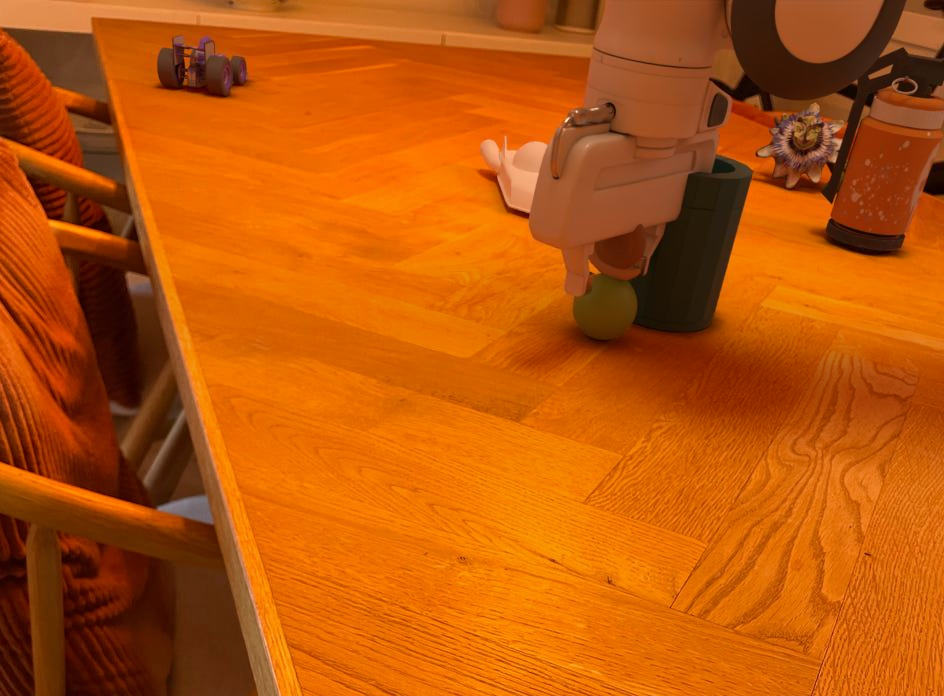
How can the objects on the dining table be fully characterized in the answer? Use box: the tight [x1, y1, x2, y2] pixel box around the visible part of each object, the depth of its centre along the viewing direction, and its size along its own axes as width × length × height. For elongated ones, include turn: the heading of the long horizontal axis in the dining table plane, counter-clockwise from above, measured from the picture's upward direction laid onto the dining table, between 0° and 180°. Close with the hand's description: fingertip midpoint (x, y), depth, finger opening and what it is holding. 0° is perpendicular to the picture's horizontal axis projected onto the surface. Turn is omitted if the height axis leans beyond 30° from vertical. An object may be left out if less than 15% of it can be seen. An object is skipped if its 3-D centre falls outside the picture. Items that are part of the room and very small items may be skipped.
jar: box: [627, 153, 754, 333], centre depth 88 cm, size 10×10×13 cm
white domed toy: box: [479, 135, 548, 214], centre depth 117 cm, size 10×20×6 cm, turn 7°
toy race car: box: [156, 34, 249, 97], centre depth 144 cm, size 10×15×6 cm, turn 170°
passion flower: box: [754, 102, 848, 192], centre depth 137 cm, size 11×11×12 cm
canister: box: [820, 46, 944, 254], centre depth 112 cm, size 9×11×20 cm
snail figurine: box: [572, 224, 646, 341], centre depth 82 cm, size 5×6×12 cm
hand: (605, 284), depth 83 cm, fingers open, 7 cm apart
